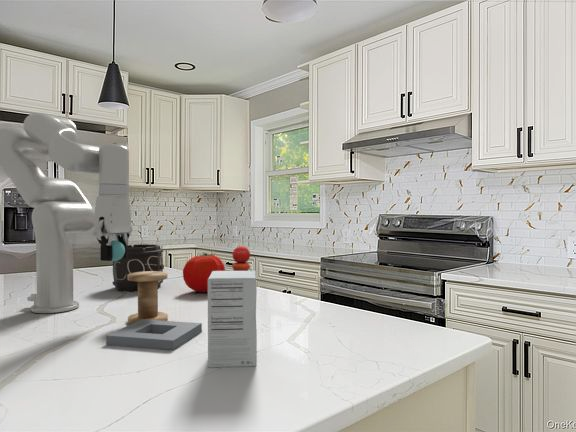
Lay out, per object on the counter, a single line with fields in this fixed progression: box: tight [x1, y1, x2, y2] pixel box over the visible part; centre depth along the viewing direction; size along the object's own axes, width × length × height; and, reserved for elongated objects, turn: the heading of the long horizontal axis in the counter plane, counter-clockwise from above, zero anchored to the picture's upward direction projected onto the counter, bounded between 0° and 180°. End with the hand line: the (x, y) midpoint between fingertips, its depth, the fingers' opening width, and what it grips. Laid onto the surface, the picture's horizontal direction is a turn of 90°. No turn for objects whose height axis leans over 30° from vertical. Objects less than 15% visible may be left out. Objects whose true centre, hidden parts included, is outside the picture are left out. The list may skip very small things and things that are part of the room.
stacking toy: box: [231, 245, 251, 271], centre depth 125 cm, size 8×8×19 cm
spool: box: [127, 271, 169, 325], centre depth 114 cm, size 10×10×12 cm
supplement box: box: [207, 270, 258, 368], centre depth 85 cm, size 10×9×17 cm
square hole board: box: [105, 319, 203, 351], centre depth 99 cm, size 16×14×2 cm
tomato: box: [182, 252, 226, 293], centre depth 153 cm, size 16×14×14 cm
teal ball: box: [111, 240, 125, 262], centre depth 116 cm, size 6×6×6 cm
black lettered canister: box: [112, 243, 165, 293], centre depth 161 cm, size 18×18×16 cm
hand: (113, 258), depth 116 cm, fingers closed on teal ball, 5 cm apart
